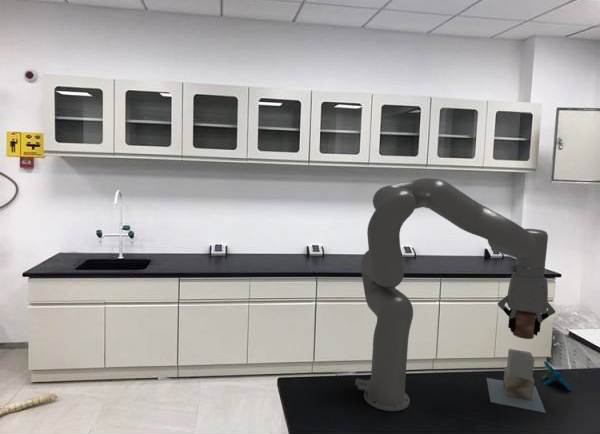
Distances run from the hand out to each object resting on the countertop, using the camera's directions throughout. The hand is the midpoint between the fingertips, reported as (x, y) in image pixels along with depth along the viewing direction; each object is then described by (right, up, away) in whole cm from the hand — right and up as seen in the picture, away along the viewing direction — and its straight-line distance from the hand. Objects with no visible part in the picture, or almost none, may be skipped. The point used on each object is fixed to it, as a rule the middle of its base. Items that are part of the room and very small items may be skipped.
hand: (523, 331), depth 130 cm
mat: (-2, -19, +2) cm, 19 cm away
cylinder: (0, -1, 0) cm, 1 cm away
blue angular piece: (+14, -19, +9) cm, 26 cm away
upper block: (-1, -13, +1) cm, 13 cm away
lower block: (-1, -19, +2) cm, 19 cm away
